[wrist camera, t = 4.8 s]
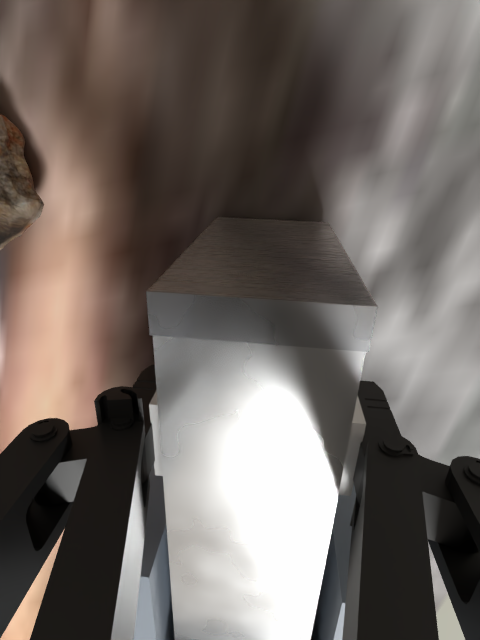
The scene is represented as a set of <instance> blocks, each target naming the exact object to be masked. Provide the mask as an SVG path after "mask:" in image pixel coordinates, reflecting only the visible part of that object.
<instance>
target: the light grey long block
mask: <svg viewBox="0 0 480 640" xmlns="http://www.w3.org/2000/svg"><path fill="white" fill-rule="evenodd" d="M146 295H147V308H148V321H149V334H150V335H152V336H153V347H154V361H155V375H156V388H157V402H158V416H159V430H160V444H161V457H162V471H163V485H164V499H165V512H166V526H167V540H168V554H169V567H170V581H171V595H172V609H173V622H174V636H175V640H311V635H312V629H313V624H314V619H315V614H316V609H317V603H318V598H319V593H320V588H321V583H322V577H323V572H324V567H325V562H326V557H327V551H328V546H329V541H330V536H331V530H332V525H333V520H334V515H335V510H336V504H337V499H338V494H339V489H340V484H341V478H342V473H343V468H344V463H345V457H346V452H347V447H348V442H349V437H350V431H351V426H352V421H353V416H354V411H355V405H356V400H357V395H358V390H359V384H360V379H361V374H362V369H363V364H364V358H365V353H366V352H369V349H370V344H371V339H372V334H373V329H374V324H375V319H376V314H377V308H378V306H377V305H376V303H375V301H374V300H373V298H372V296H371V294H370V293H369V291H368V289H367V288H366V286H365V284H364V282H363V281H362V279H361V277H360V276H359V274H358V272H357V270H356V269H355V267H354V265H353V264H352V262H351V260H350V258H349V257H348V255H347V253H346V252H345V250H344V248H343V246H342V245H341V243H340V241H339V240H338V238H337V236H336V234H335V233H334V231H333V229H332V228H331V226H330V224H329V222H311V221H291V220H270V219H250V218H230V217H217V218H216V219H215V220H214V221H213V222H212V223H211V224H210V225H209V226H208V227H207V228H206V229H205V230H204V231H203V232H202V233H201V234H200V236H199V237H198V238H197V239H196V240H195V241H194V242H193V243H192V244H191V245H190V246H189V247H188V248H187V249H186V250H185V251H184V252H183V253H182V254H181V255H180V256H179V258H178V259H177V260H176V261H175V262H174V263H173V264H172V265H171V266H170V267H169V268H168V269H167V270H166V271H165V272H164V273H163V274H162V275H161V276H160V277H159V279H158V280H157V281H156V282H155V283H154V284H153V285H152V286H151V287H150V288H149V289H148V290H147V291H146Z"/></svg>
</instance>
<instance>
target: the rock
mask: <svg viewBox="0 0 480 640" xmlns="http://www.w3.org/2000/svg"><path fill="white" fill-rule="evenodd" d="M24 145H25V140H24V138H23V135H22V133H21V132H20V130H19V129H18V128H17V127H16V126H15V125H14V124H13V123H11V122H10V121H9V120H8V119H7V118H6V117H5V116H3V115H2V114H0V250H1V249H2V248H3V247H4V246H5V245H6V244H7V243H9V242H10V241H11V240H13V239H15V238H16V237H20V236H21V235H22V234H23V233H24V231H25V230H26V229H27V228H28V227H29V226H30V225H31V224H33V223H34V221H35V220H36V219H38V218H39V217H40V215H41V212H42V209H43V206H44V204H43V202H42V200H41V198H40V197H39V196H38V194H37V193H36V191H35V190H34V185H33V179H32V176H31V173H30V170H29V167H28V165H27V163H26V161H25V159H24Z"/></svg>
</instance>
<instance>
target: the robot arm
mask: <svg viewBox="0 0 480 640" xmlns="http://www.w3.org/2000/svg"><path fill="white" fill-rule="evenodd" d="M94 402H95V408H96V415H97V421H98V425H97V426H95V427H91V428H85V429H77V430H69V425H68V423H67V422H65V421H64V420H61V419H58V418H48V419H44V420H40V421H37V422H35V423H33V424H31V425H29V426H28V427H26V428H25V429H24V430H23V431H21V433H20V434H19V435H18V436H17V437H16V438H15V439H14V440H13V441H12V442H11V443H10V444H9V445H8V446H7V448H6V449H5V450H4V451H3V452H2V453H1V454H0V638H1V636H2V634H3V633H4V631H5V629H6V628H7V626H8V624H9V623H10V621H11V619H12V617H13V616H14V614H15V612H16V611H17V609H18V607H19V605H20V604H21V602H22V600H23V599H24V597H25V595H26V593H27V592H28V590H29V588H30V587H31V585H32V583H33V581H34V580H35V578H36V576H37V575H38V573H39V571H40V569H41V568H42V566H43V564H44V563H45V561H46V559H47V558H48V556H49V554H50V552H51V551H52V549H53V547H54V546H55V544H56V542H57V540H58V539H59V537H60V535H61V534H62V532H63V530H64V528H65V530H64V533H63V536H62V540H61V543H60V546H59V549H58V552H57V555H56V559H55V562H54V565H53V568H52V571H51V574H50V578H49V581H48V584H47V587H46V590H45V593H44V597H43V600H42V603H41V606H40V609H39V613H38V616H37V619H36V622H35V625H34V628H33V632H32V635H31V638H30V640H134V632H135V623H136V614H137V604H138V595H139V585H140V576H141V567H142V557H143V548H144V538H145V529H146V519H147V510H148V501H149V491H150V480H149V474H150V471H151V469H152V466H153V464H154V469H155V475H157V476H163V471H162V457H161V444H160V430H159V416H158V402H157V388H156V375H155V365H151V366H149V367H148V368H147V369H145V370H144V371H142V373H141V374H140V376H139V377H138V379H137V382H135V384H134V385H133V388H132V387H123V386H121V387H115V388H111V389H108V390H106V391H104V392H102V393H101V394H99V395H98V396H97V398H96V399H95V401H94ZM353 484H354V487H355V492H356V499H355V504H354V508H353V513H352V517H351V522H350V526H352V533H351V544H350V556H349V567H348V579H347V591H346V602H345V614H344V625H343V637H342V640H439V638H438V629H437V620H436V611H435V602H434V593H433V584H432V575H431V566H430V556H429V547H428V542H429V544H430V547H431V550H432V552H433V555H434V558H435V560H436V563H437V565H438V568H439V571H440V573H441V576H442V579H443V581H444V584H445V587H446V589H447V592H448V595H449V597H450V600H451V603H452V605H453V608H454V611H455V613H456V616H457V618H458V621H459V624H460V626H461V629H462V632H463V634H464V637H465V640H480V459H478V458H474V457H469V456H462V457H457V458H455V459H453V460H452V462H451V465H450V466H447V465H444V464H441V463H438V462H435V461H432V460H429V459H427V458H424V457H422V456H420V455H418V453H417V450H416V448H415V447H414V445H413V444H412V443H411V442H410V441H408V440H407V439H405V438H404V437H402V436H401V434H400V431H399V429H398V427H397V424H396V422H395V419H394V417H393V414H392V412H391V410H390V407H389V404H388V402H387V399H386V397H385V395H384V392H383V390H382V389H381V388H380V387H379V386H378V385H376V384H375V383H374V382H370V381H360V384H359V390H358V395H357V400H356V405H355V411H354V416H353V421H352V426H351V431H350V437H349V442H348V447H347V452H346V457H345V463H344V468H343V473H342V478H341V484H340V489H339V494H338V495H347V496H351V493H352V489H353Z"/></svg>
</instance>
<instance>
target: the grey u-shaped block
mask: <svg viewBox="0 0 480 640" xmlns="http://www.w3.org/2000/svg"><path fill="white" fill-rule="evenodd" d="M149 480H150V491H149V501H148V510H147V519H146V529H145V538H144V548H143V557H142V567H141V576H140V585H139V595H138V604H137V614H136V623H135V632H134V640H175V636H174V622H173V609H172V595H171V581H170V567H169V554H168V540H167V526H166V512H165V499H164V485H163V476H157V475H155V469H154V464H153V466H152V469H151V471H150V474H149ZM355 499H356V492H355V487H354V484H353V489H352V493H351V496H347V495H338V499H337V504H336V510H335V515H334V520H333V525H332V530H331V536H330V541H329V546H328V551H327V557H326V562H325V567H324V572H323V577H322V583H321V588H320V593H319V598H318V603H317V609H316V614H315V619H314V624H313V629H312V635H311V640H342V637H343V625H344V614H345V602H346V591H347V579H348V567H349V556H350V544H351V533H352V526H350V522H351V517H352V513H353V508H354V504H355Z"/></svg>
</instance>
